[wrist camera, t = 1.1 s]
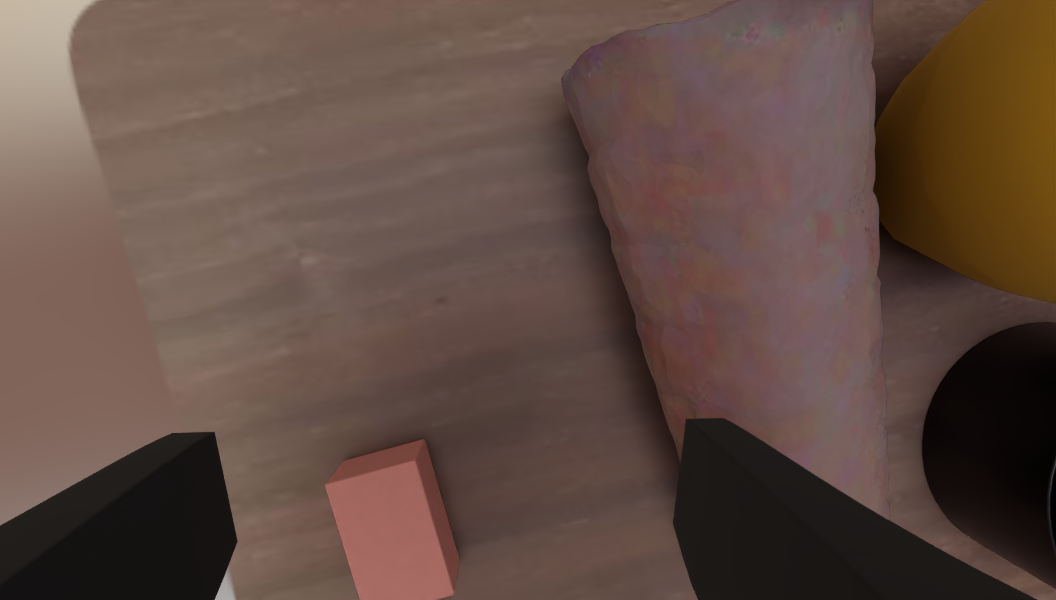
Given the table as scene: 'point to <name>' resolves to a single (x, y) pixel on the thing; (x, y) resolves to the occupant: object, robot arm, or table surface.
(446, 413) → the table surface
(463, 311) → the table surface
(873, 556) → the robot arm
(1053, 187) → the apple
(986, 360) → the black cylindrical stand
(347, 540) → the salmon pink cuboid
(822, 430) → the food
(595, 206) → the table surface
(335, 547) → the table surface
